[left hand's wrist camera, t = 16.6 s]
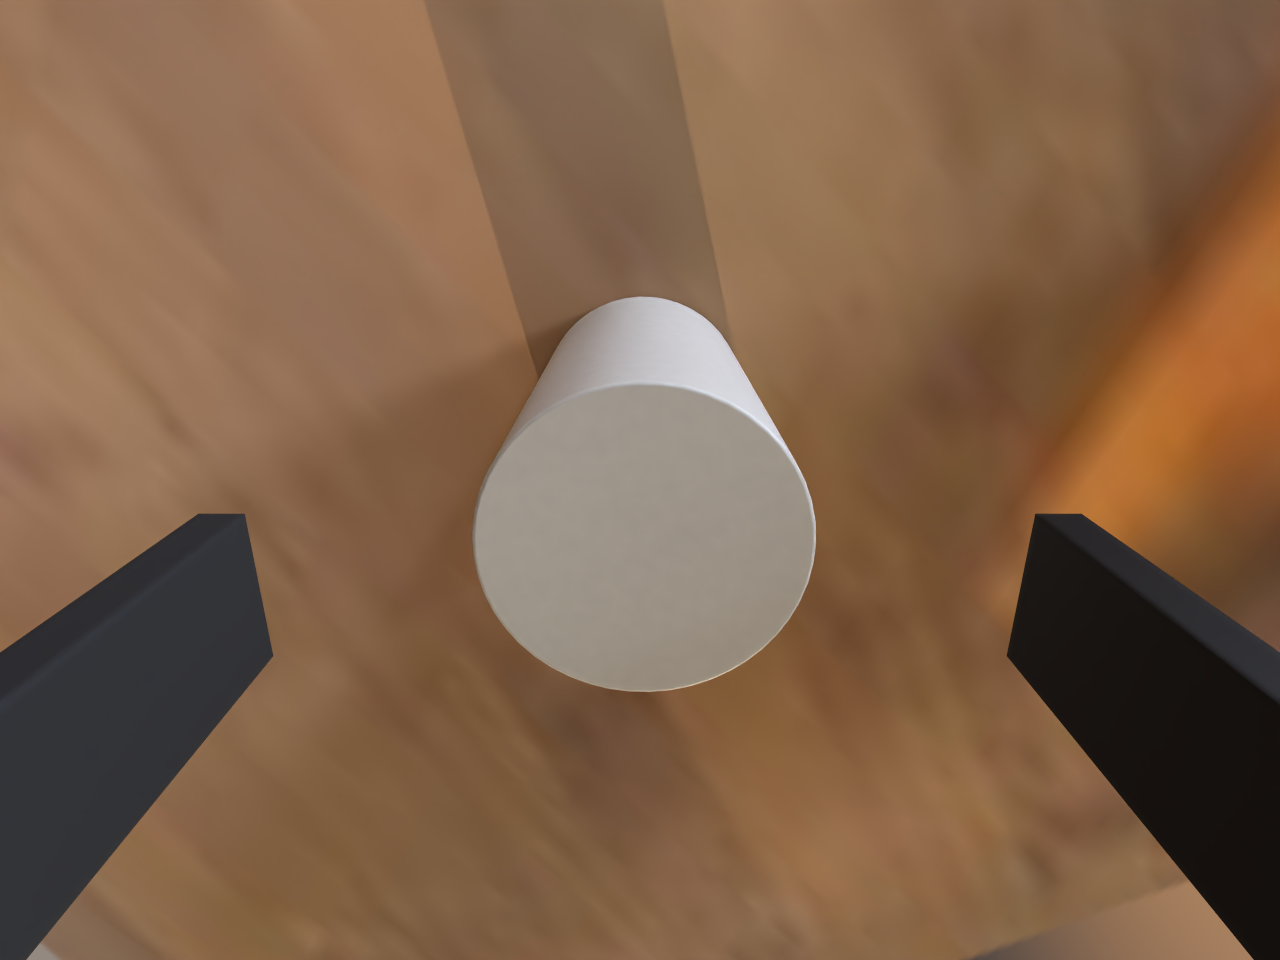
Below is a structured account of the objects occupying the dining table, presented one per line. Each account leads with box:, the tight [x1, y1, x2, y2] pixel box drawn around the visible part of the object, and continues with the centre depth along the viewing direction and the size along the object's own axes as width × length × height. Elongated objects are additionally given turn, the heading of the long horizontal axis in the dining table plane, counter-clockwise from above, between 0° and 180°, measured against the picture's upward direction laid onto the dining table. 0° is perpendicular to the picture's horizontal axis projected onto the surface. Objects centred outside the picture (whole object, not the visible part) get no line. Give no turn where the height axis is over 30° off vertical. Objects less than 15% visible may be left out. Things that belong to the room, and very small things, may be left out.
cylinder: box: [472, 297, 816, 692], centre depth 18 cm, size 6×6×11 cm
